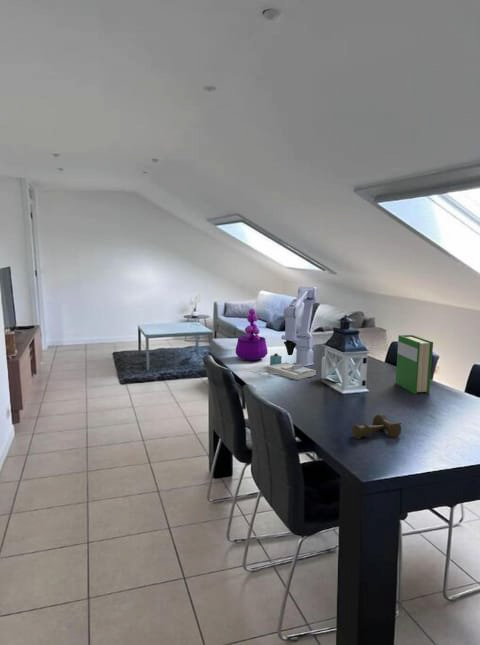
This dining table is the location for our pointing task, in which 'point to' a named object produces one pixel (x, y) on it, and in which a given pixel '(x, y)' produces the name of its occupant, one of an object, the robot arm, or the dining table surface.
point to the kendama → (377, 427)
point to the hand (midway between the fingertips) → (290, 354)
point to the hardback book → (414, 363)
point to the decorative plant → (251, 341)
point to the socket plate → (289, 371)
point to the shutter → (299, 368)
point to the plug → (275, 359)
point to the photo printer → (323, 368)
